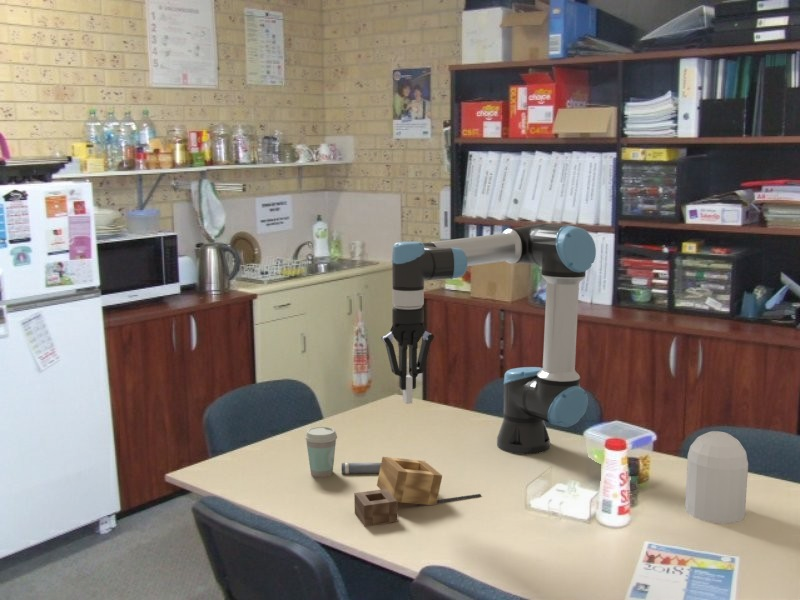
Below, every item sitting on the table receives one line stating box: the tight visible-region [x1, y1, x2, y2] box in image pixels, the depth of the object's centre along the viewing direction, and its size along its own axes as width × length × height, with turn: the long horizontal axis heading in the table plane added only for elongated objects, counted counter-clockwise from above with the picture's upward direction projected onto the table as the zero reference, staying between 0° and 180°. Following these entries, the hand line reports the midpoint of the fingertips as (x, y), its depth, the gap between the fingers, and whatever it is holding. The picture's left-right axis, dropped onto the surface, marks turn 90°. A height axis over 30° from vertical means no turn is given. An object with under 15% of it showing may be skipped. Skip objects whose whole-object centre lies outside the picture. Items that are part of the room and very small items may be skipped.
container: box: [684, 430, 749, 525], centre depth 203 cm, size 13×13×20 cm
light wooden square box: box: [376, 456, 443, 506], centre depth 213 cm, size 12×12×8 cm
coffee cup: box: [304, 426, 338, 478], centre depth 230 cm, size 9×8×12 cm
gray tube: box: [341, 462, 381, 475], centre depth 231 cm, size 3×3×18 cm
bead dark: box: [353, 489, 398, 527], centre depth 202 cm, size 8×8×5 cm
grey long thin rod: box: [417, 493, 482, 507], centre depth 212 cm, size 17×1×1 cm, turn 109°
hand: (407, 402), depth 210 cm, fingers closed
